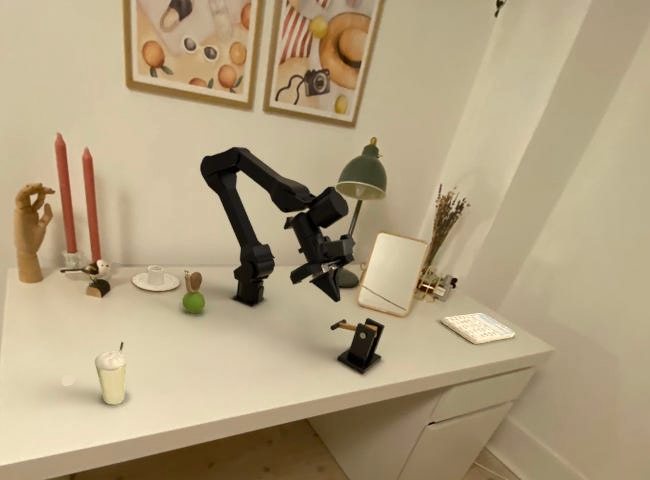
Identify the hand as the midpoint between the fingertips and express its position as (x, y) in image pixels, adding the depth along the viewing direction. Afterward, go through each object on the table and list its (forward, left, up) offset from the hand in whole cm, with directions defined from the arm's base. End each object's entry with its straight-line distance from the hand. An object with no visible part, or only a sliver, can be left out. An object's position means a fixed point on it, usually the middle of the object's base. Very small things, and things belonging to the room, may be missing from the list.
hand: (338, 301), depth 87 cm
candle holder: (-49, -5, -12) cm, 51 cm away
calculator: (+35, +42, -12) cm, 56 cm away
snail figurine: (-32, -11, -12) cm, 36 cm away
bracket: (+9, -2, -11) cm, 15 cm away
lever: (+6, -1, -5) cm, 8 cm away
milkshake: (-22, -44, -12) cm, 51 cm away
